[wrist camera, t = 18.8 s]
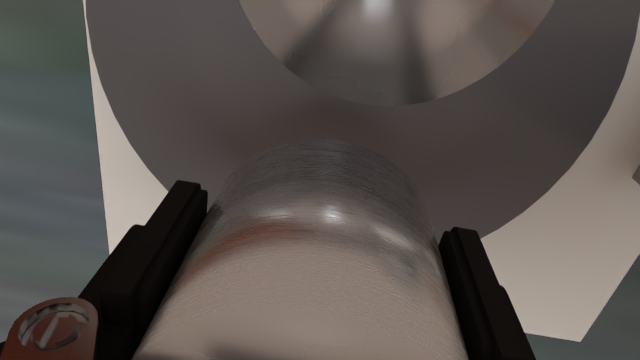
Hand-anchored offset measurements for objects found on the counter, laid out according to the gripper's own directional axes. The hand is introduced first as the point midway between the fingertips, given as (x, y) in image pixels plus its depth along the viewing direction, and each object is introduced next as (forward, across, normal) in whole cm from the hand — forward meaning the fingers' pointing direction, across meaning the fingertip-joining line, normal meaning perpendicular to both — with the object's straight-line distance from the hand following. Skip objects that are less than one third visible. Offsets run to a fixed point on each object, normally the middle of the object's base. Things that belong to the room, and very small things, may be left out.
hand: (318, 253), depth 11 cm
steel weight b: (+1, 0, 0) cm, 1 cm away
